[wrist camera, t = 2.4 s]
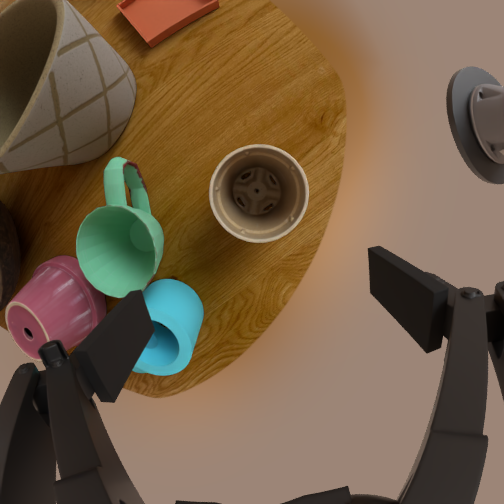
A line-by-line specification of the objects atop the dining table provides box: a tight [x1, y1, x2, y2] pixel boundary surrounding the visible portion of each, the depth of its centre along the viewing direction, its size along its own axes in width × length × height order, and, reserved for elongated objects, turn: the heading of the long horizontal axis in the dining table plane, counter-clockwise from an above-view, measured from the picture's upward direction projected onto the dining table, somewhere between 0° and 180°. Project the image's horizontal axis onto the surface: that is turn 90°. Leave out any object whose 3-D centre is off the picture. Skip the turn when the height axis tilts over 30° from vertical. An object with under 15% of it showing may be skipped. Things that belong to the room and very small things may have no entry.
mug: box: [76, 157, 164, 298], centre depth 30 cm, size 15×10×10 cm
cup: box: [132, 279, 204, 376], centre depth 34 cm, size 12×10×9 cm
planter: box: [0, 0, 137, 174], centre depth 21 cm, size 19×19×20 cm
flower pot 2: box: [209, 144, 309, 243], centre depth 30 cm, size 9×9×9 cm
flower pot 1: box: [5, 255, 107, 362], centre depth 32 cm, size 14×14×13 cm
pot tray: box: [116, 0, 219, 48], centre depth 26 cm, size 11×11×2 cm
